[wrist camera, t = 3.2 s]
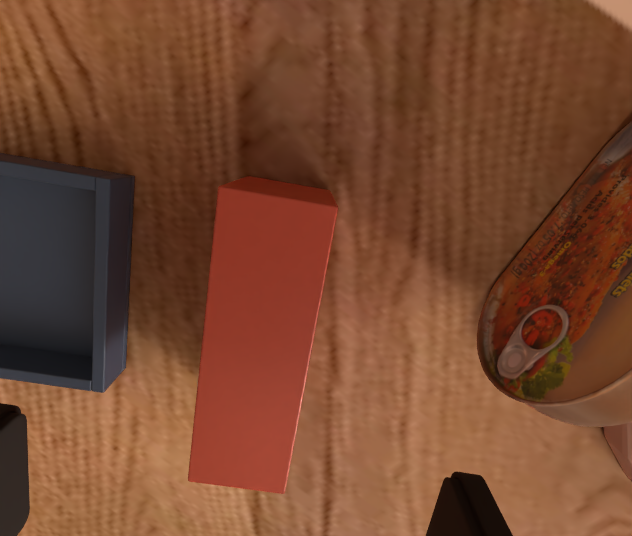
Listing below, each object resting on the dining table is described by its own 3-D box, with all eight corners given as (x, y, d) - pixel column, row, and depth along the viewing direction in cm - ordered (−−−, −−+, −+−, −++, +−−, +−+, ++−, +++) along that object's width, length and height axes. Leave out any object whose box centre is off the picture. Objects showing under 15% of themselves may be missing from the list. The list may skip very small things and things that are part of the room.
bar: (220, 395, 22) (187, 482, 16) (246, 175, 19) (217, 185, 13) (292, 406, 22) (284, 495, 16) (330, 190, 19) (339, 206, 13)
